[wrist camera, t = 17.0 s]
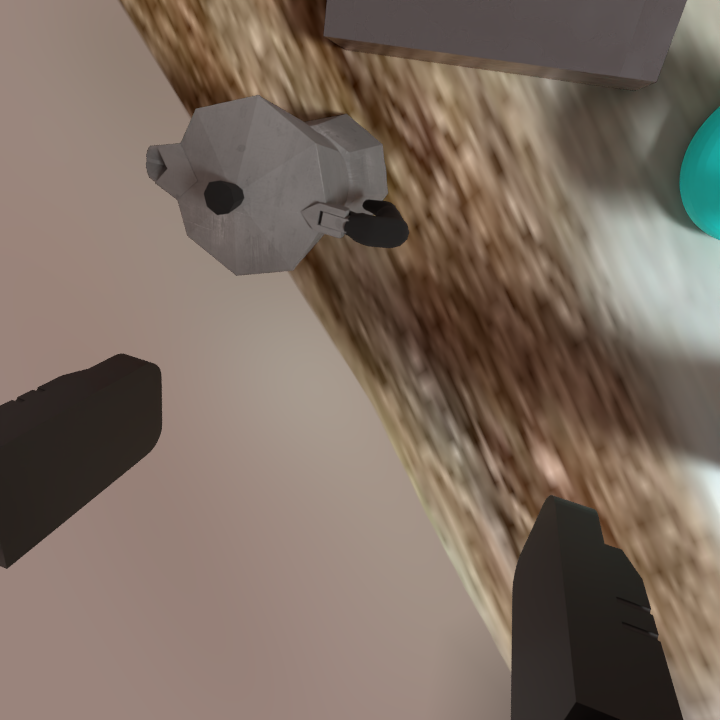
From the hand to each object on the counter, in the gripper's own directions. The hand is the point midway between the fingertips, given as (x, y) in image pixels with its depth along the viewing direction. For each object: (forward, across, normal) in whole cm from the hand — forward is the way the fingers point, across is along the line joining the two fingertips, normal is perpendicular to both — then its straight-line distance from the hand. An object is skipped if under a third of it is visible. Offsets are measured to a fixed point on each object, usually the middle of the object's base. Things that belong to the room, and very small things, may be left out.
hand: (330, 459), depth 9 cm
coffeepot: (+32, +11, -2) cm, 34 cm away
